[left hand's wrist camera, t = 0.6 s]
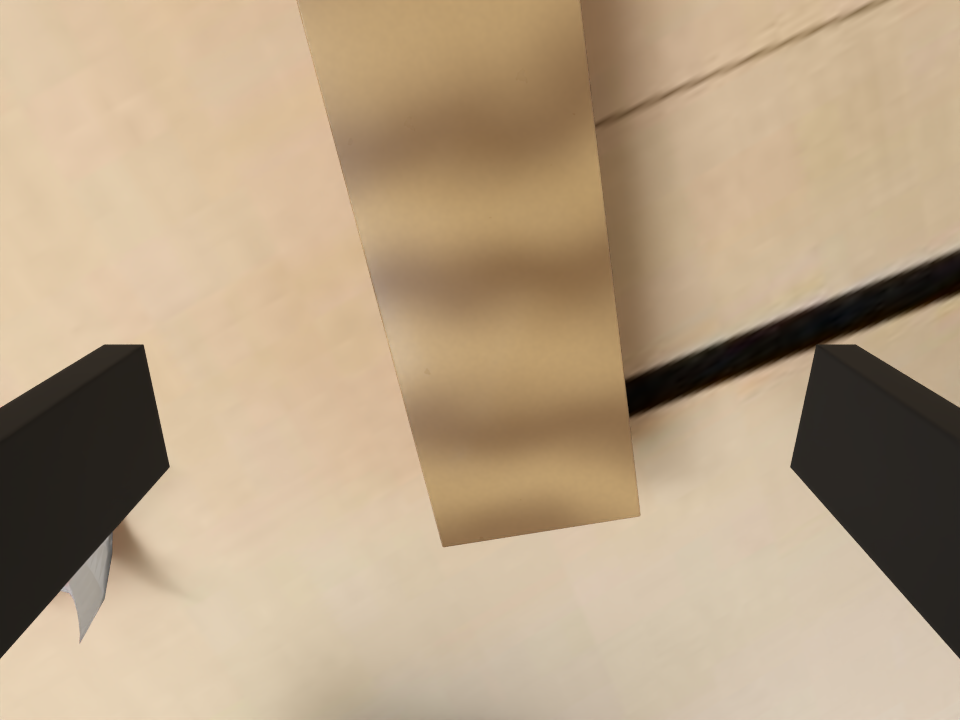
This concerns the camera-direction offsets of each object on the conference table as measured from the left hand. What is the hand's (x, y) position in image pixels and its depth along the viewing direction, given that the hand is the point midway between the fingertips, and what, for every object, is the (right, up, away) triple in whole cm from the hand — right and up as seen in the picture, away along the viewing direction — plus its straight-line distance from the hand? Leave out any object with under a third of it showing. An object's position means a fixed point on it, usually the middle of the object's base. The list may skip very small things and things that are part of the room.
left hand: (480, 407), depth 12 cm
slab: (-2, +20, +15) cm, 25 cm away
